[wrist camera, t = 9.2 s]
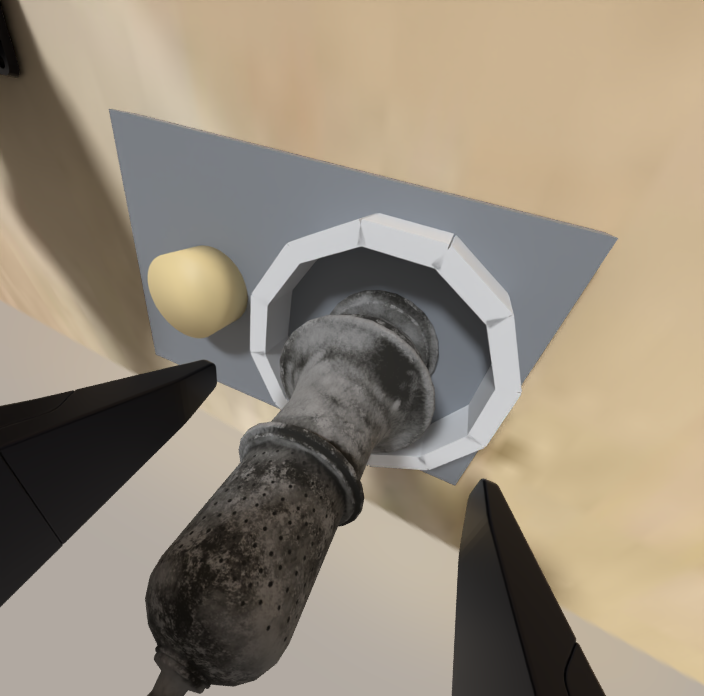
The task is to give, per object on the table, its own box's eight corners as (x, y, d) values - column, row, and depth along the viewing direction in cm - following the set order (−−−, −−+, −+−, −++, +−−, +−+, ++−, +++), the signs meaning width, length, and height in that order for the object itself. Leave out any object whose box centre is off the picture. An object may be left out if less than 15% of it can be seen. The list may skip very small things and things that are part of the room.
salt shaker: (311, 370, 16) (42, 679, 6) (331, 262, 13) (-171, 561, 3) (418, 416, 15) (294, 879, 5) (470, 312, 12) (397, 1034, 2)
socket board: (171, 346, 21) (127, 370, 18) (134, 113, 14) (55, 99, 11) (456, 467, 17) (452, 520, 15) (604, 232, 10) (648, 251, 8)
